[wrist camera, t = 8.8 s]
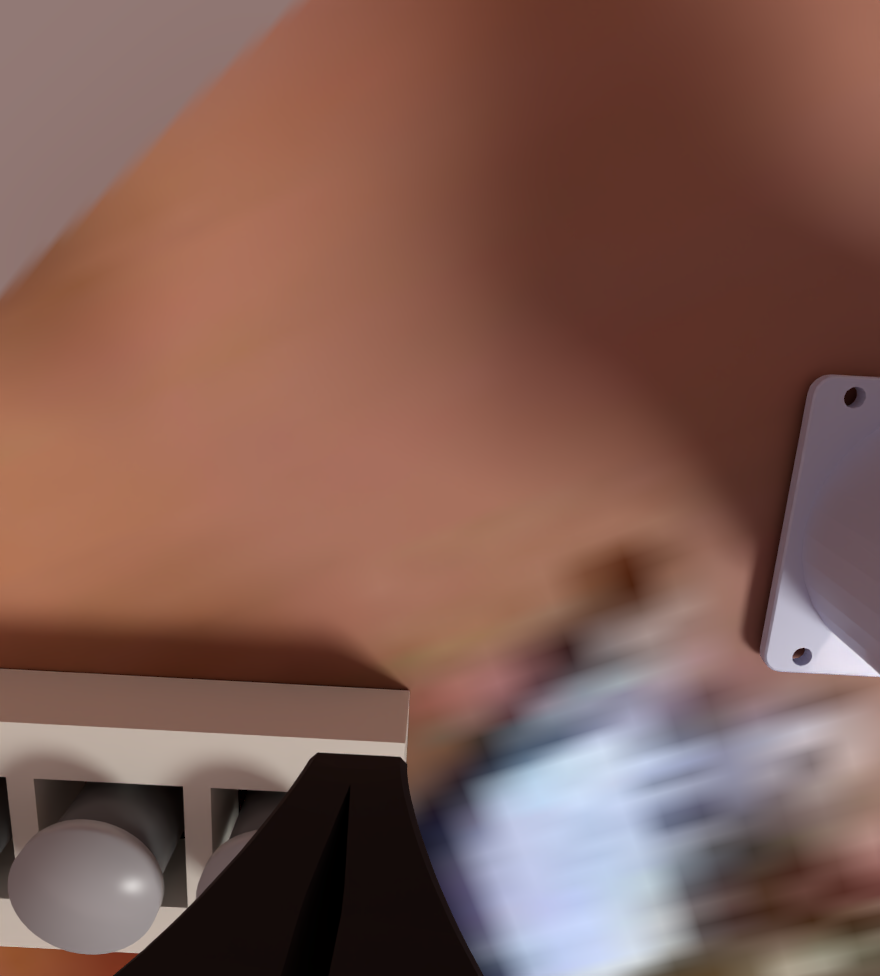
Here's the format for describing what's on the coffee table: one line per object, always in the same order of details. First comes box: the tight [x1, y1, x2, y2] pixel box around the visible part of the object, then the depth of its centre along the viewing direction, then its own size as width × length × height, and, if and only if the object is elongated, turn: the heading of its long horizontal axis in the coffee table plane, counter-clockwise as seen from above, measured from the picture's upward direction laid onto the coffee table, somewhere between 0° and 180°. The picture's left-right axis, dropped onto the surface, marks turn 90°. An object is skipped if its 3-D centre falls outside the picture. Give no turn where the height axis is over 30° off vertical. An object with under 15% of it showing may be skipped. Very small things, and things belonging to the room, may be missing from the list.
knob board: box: [0, 669, 410, 953], centre depth 20 cm, size 15×7×2 cm, turn 87°
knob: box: [196, 790, 287, 899], centre depth 19 cm, size 4×4×4 cm
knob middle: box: [8, 781, 185, 954], centre depth 19 cm, size 4×4×4 cm
